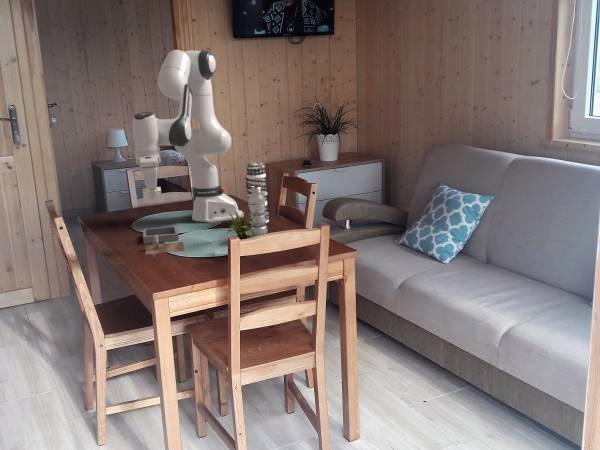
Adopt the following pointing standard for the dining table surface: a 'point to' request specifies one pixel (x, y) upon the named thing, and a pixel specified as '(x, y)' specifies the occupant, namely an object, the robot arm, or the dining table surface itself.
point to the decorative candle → (257, 183)
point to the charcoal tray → (160, 234)
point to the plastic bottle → (257, 211)
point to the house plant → (238, 226)
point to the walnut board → (163, 247)
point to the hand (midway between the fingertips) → (152, 195)
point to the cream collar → (147, 195)
